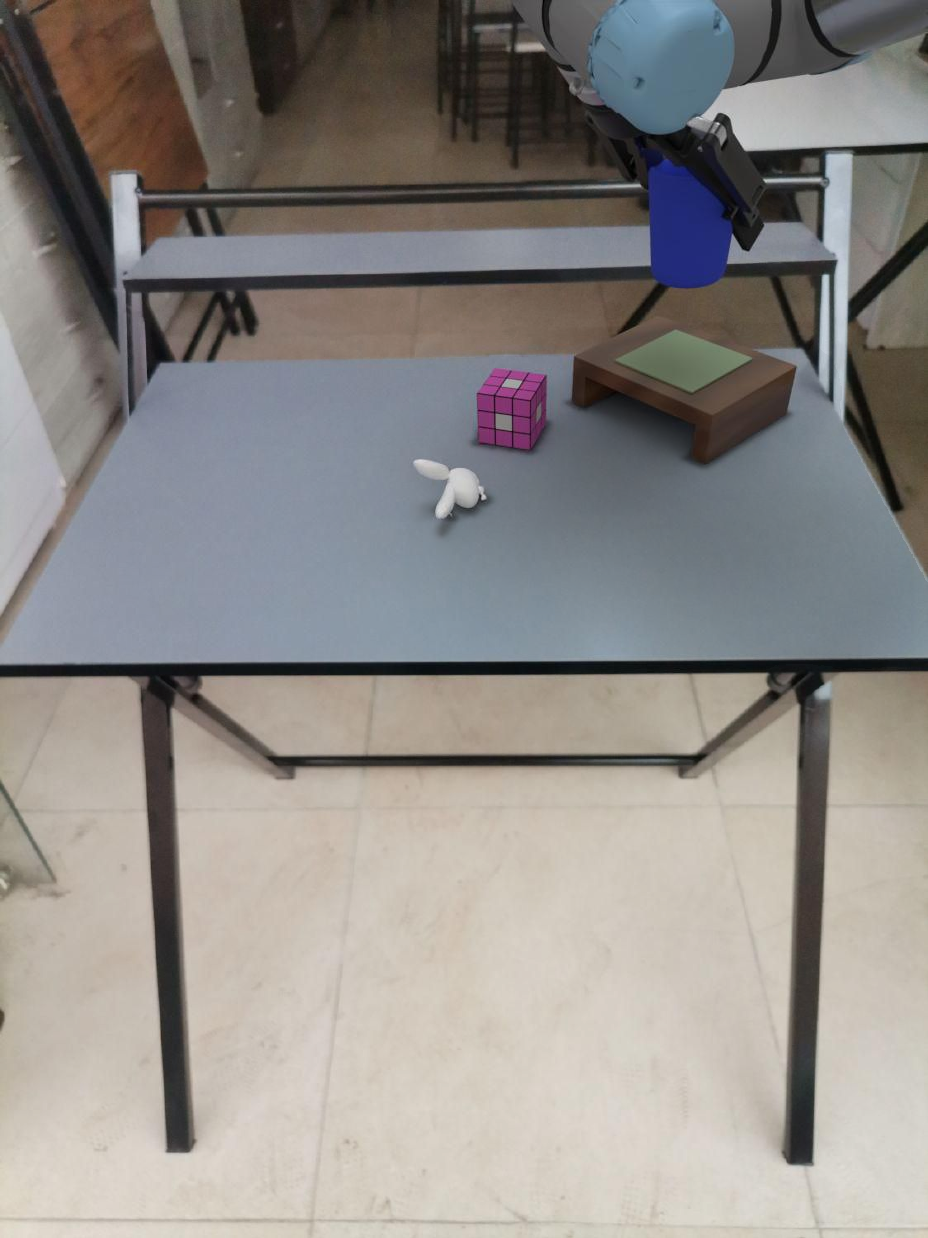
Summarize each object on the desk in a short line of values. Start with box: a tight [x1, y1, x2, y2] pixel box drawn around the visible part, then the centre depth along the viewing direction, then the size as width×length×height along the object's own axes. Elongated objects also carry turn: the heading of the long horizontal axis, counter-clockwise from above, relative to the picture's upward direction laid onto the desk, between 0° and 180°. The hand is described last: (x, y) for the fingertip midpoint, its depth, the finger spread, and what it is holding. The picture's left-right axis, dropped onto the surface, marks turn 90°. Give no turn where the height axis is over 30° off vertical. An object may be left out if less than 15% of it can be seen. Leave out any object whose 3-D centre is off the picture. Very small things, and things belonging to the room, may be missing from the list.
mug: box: [648, 158, 733, 289], centre depth 86 cm, size 8×12×10 cm
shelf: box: [571, 315, 798, 465], centre depth 97 cm, size 18×14×6 cm
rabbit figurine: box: [412, 458, 488, 520], centre depth 86 cm, size 6×4×8 cm
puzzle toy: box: [476, 367, 548, 451], centre depth 95 cm, size 6×6×6 cm
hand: (719, 227), depth 88 cm, fingers closed on mug, 7 cm apart
